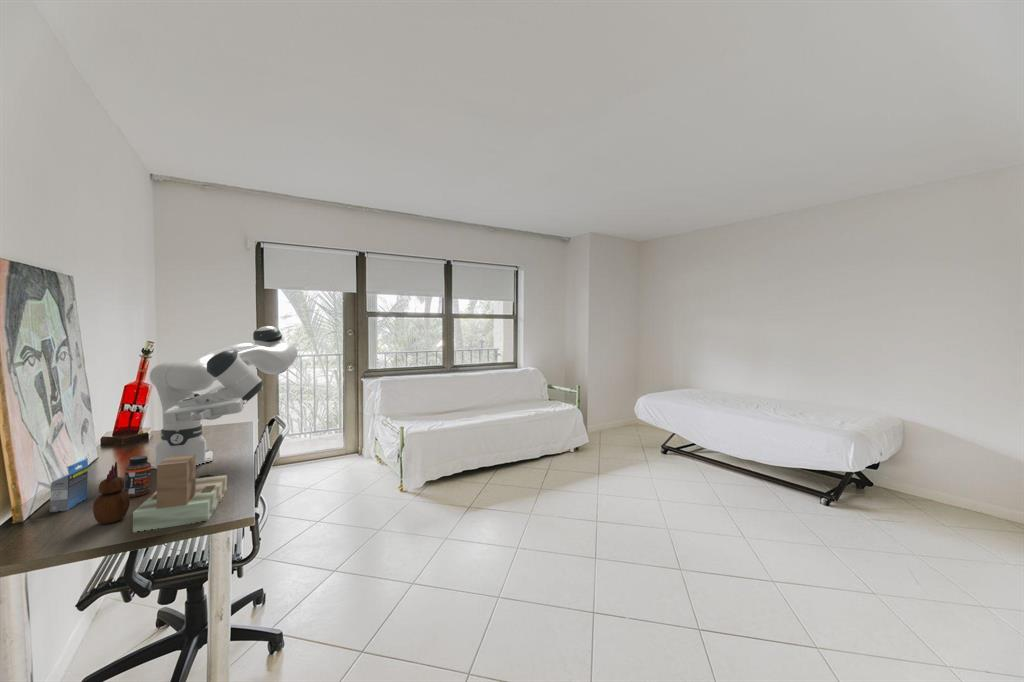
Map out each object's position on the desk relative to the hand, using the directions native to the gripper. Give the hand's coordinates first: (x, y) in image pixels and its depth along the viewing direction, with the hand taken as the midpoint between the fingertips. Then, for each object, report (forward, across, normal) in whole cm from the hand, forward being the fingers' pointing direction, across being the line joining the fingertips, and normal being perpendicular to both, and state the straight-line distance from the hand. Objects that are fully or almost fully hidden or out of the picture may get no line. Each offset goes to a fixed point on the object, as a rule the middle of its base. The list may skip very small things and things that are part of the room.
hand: (195, 417), depth 118 cm
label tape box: (-4, +35, -21) cm, 41 cm away
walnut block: (+16, +2, -18) cm, 24 cm away
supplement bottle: (-8, +21, -23) cm, 32 cm away
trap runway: (+10, +3, -23) cm, 25 cm away
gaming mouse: (-7, +4, -26) cm, 27 cm away
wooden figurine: (+12, +18, -21) cm, 30 cm away
